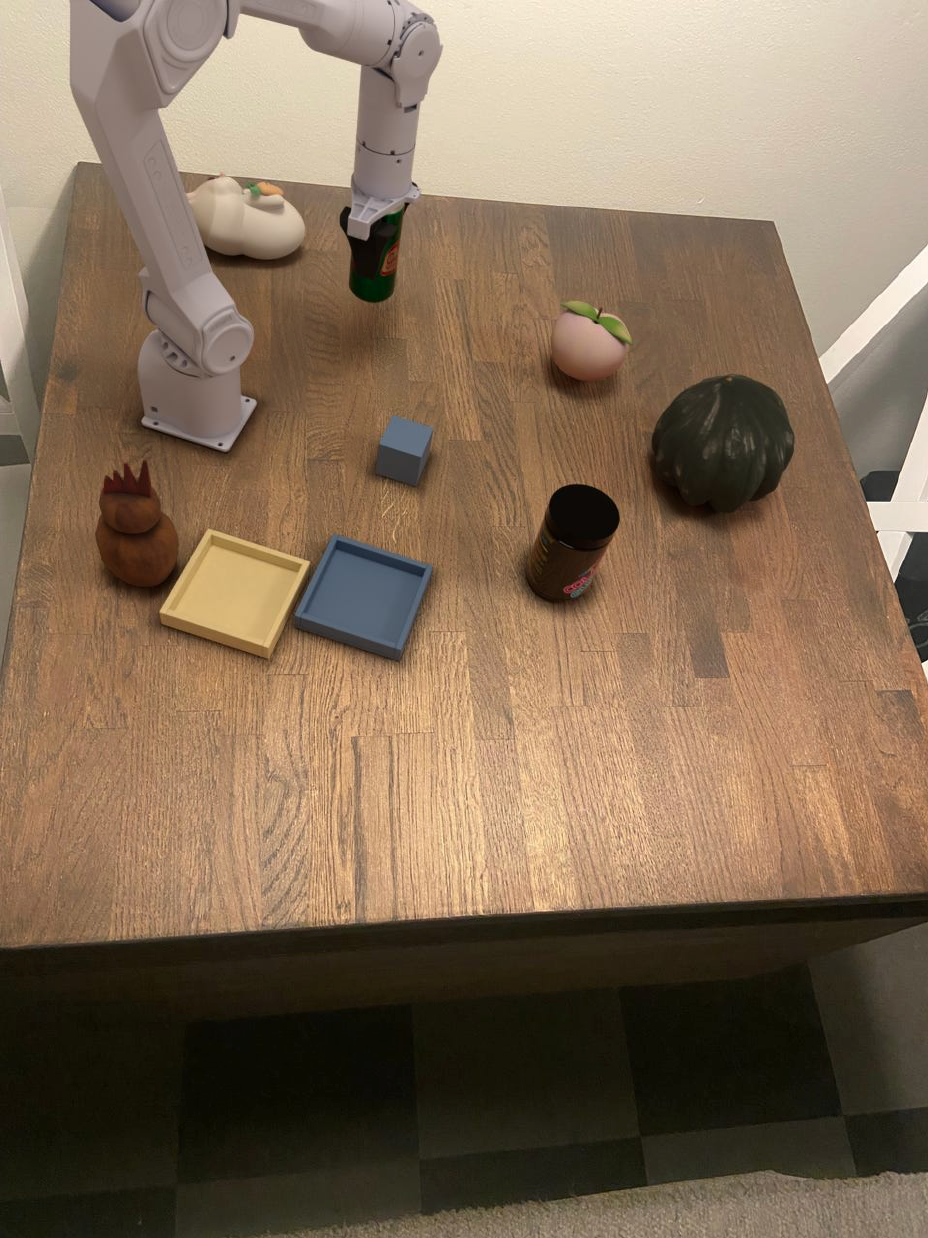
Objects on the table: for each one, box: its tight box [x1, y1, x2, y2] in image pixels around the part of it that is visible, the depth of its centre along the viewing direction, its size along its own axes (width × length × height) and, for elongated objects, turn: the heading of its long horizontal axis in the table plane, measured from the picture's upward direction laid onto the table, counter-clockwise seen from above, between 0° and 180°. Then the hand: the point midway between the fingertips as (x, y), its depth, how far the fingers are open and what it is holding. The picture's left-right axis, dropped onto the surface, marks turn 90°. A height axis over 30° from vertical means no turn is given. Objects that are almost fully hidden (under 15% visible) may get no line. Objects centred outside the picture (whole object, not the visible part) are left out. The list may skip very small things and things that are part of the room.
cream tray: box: [158, 528, 311, 660], centre depth 84 cm, size 10×10×2 cm
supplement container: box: [525, 483, 621, 603], centre depth 88 cm, size 7×7×10 cm
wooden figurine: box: [94, 459, 180, 588], centre depth 79 cm, size 7×6×15 cm
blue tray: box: [293, 533, 434, 662], centre depth 86 cm, size 10×10×2 cm
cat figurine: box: [186, 171, 306, 261], centre depth 109 cm, size 10×8×15 cm
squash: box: [651, 373, 796, 514], centre depth 99 cm, size 14×15×15 cm
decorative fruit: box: [550, 300, 633, 383], centre depth 105 cm, size 9×8×10 cm
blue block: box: [375, 414, 434, 487], centre depth 95 cm, size 4×4×4 cm
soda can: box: [348, 203, 405, 304], centre depth 97 cm, size 5×5×12 cm
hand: (373, 261), depth 99 cm, fingers closed on soda can, 5 cm apart
